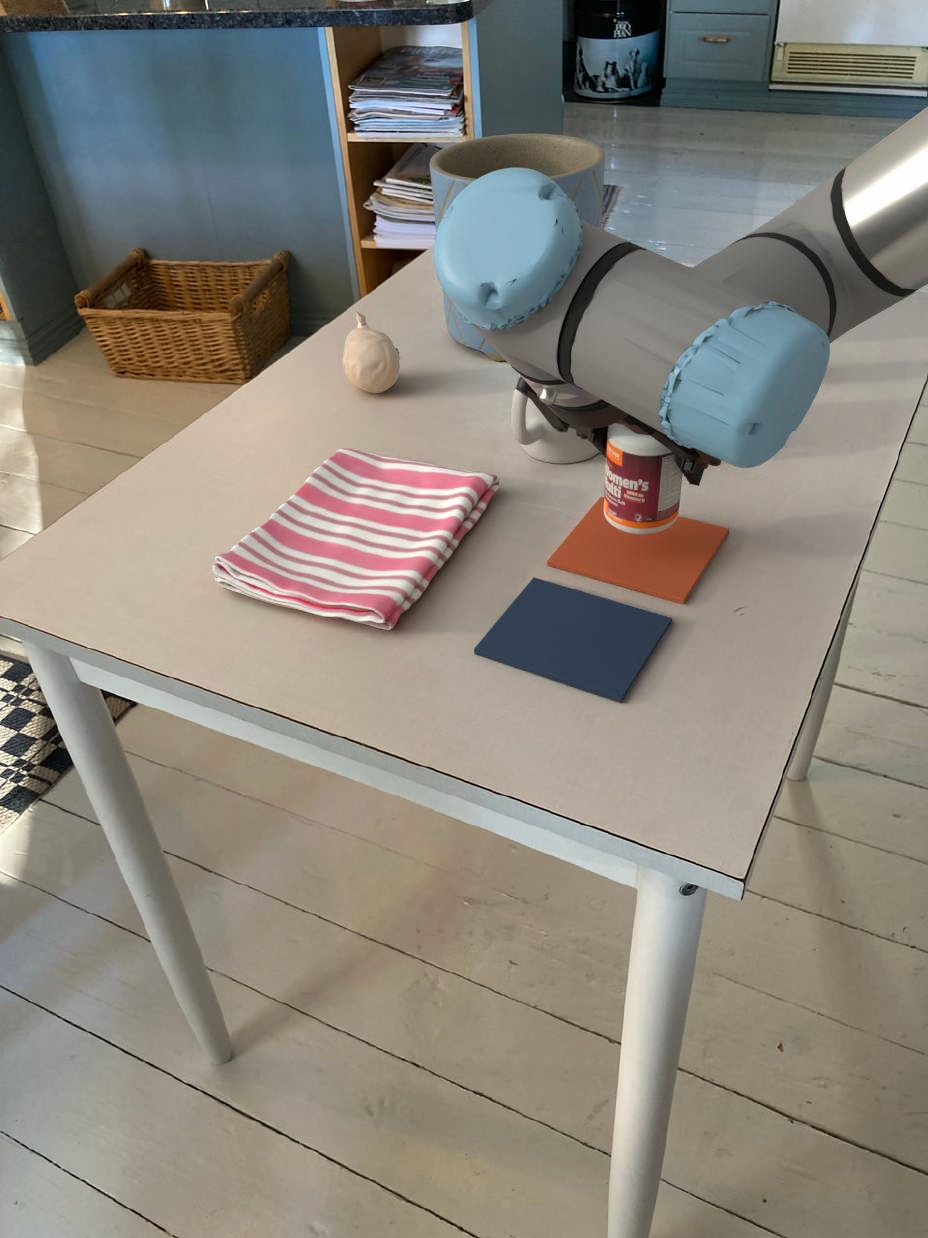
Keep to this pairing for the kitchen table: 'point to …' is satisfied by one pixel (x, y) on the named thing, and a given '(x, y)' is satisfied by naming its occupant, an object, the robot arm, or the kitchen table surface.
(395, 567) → the dish towel
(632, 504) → the pill bottle
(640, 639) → the slate blue mat
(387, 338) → the garlic bulb
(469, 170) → the planter
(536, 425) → the mug
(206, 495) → the kitchen table surface
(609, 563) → the terracotta mat
